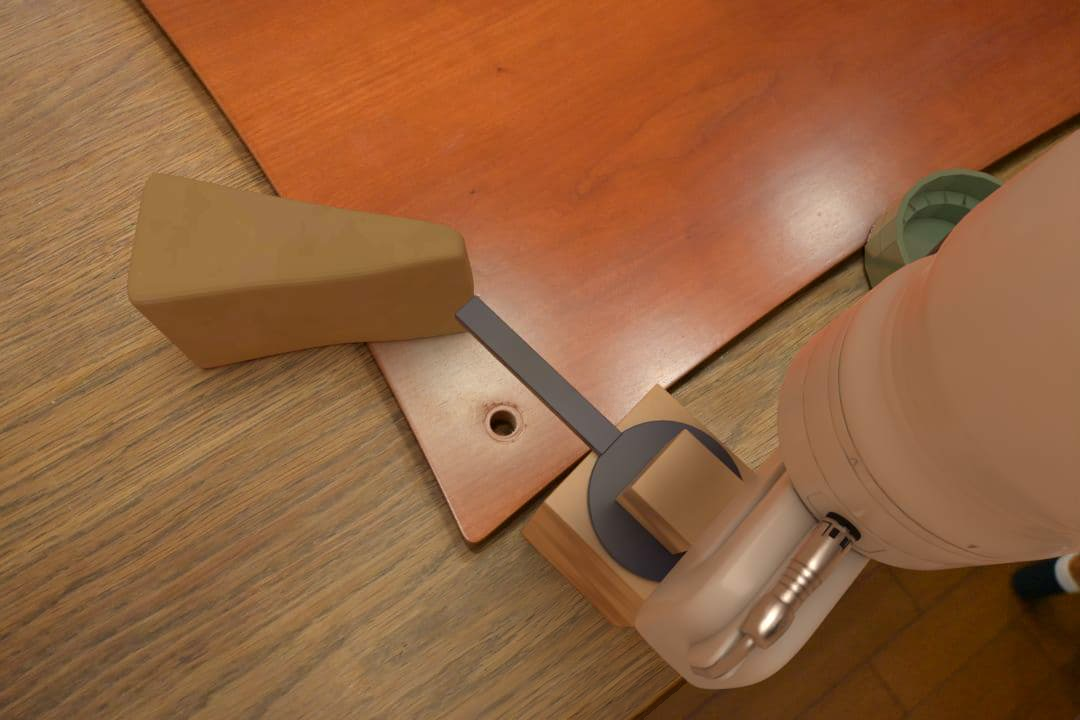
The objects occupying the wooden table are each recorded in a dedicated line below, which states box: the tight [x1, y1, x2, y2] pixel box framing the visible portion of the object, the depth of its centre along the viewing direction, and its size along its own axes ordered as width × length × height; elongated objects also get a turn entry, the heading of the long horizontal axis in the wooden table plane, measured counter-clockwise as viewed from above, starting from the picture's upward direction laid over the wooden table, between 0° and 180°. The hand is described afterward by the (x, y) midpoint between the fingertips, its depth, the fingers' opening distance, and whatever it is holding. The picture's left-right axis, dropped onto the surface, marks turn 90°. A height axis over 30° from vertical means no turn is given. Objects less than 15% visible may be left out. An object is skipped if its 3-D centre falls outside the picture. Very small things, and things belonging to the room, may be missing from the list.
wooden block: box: [616, 429, 745, 555], centre depth 42 cm, size 4×4×4 cm
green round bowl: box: [864, 167, 1007, 290], centre depth 69 cm, size 14×14×6 cm
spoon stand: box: [455, 294, 756, 628], centre depth 54 cm, size 21×10×19 cm, turn 47°
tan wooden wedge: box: [126, 172, 475, 369], centre depth 58 cm, size 22×10×15 cm, turn 91°
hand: (768, 490), depth 38 cm, fingers open, 8 cm apart
